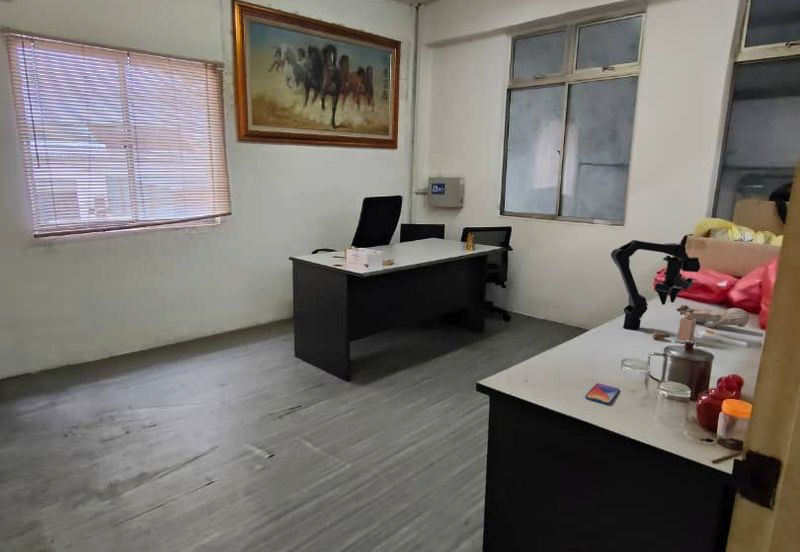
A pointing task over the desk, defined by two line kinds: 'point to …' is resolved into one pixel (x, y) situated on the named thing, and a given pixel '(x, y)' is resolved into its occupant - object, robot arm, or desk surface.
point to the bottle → (687, 327)
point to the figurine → (717, 316)
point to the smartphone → (602, 394)
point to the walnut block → (659, 336)
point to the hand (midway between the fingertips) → (667, 303)
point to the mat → (681, 341)
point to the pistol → (719, 338)
